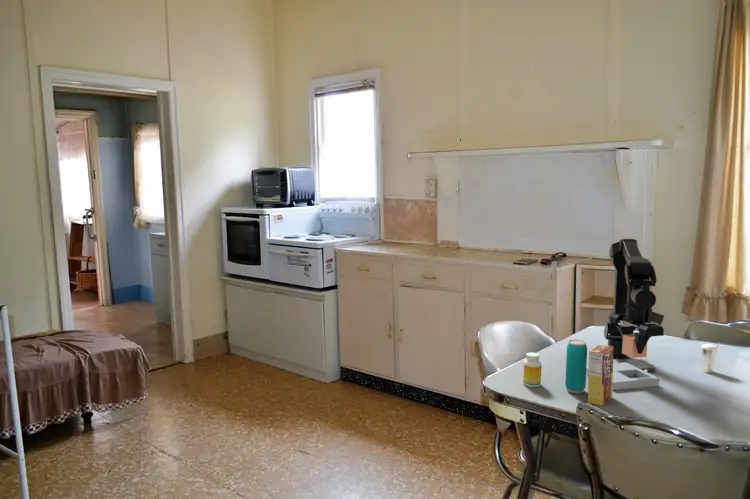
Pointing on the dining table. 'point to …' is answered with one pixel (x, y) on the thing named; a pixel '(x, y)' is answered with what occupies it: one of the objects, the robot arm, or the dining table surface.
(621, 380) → the outlet plate
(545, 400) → the dining table surface
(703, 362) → the milkshake
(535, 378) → the supplement bottle
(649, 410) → the dining table surface
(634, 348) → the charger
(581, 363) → the beverage can
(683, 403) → the dining table surface
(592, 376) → the candy box
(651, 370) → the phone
